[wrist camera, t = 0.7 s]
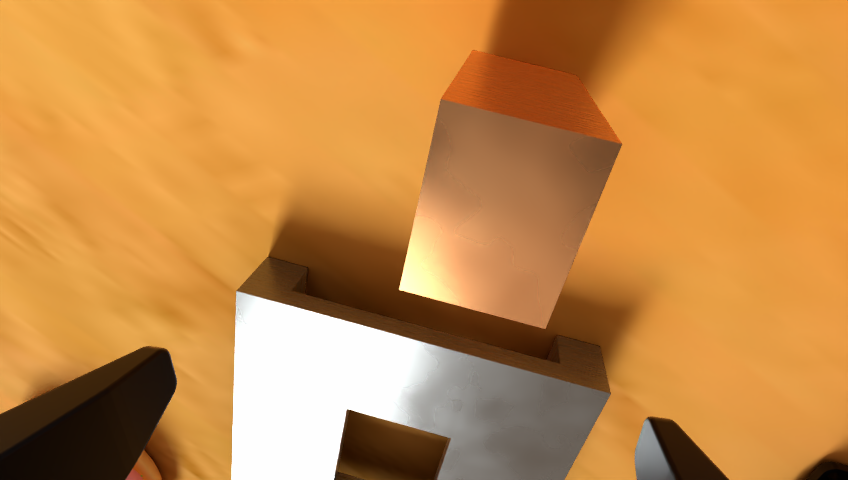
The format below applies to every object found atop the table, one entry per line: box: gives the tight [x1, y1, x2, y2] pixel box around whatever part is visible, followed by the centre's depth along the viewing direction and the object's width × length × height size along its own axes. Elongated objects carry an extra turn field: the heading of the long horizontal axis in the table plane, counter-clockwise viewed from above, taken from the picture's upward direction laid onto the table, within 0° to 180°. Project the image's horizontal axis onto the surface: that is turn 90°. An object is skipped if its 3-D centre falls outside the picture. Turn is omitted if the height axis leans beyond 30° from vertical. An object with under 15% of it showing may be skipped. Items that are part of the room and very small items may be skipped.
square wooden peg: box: [399, 50, 622, 329], centre depth 15 cm, size 4×4×10 cm
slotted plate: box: [232, 257, 611, 480], centre depth 26 cm, size 16×16×3 cm
